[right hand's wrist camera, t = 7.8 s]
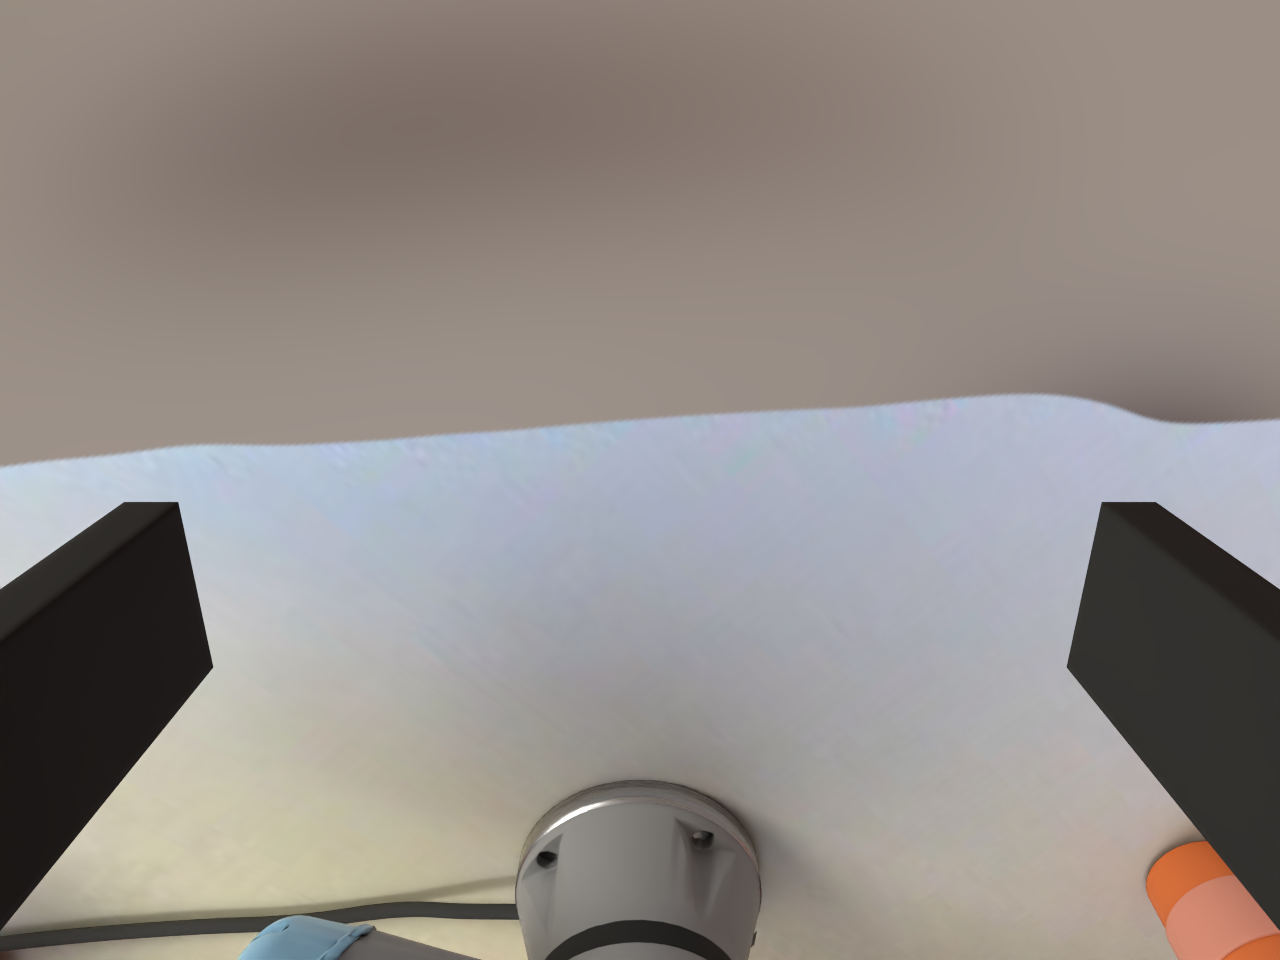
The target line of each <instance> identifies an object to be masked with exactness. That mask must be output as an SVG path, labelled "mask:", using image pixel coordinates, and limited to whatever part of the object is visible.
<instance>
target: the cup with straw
mask: <svg viewBox="0 0 1280 960" xmlns="http://www.w3.org/2000/svg"><path fill="white" fill-rule="evenodd" d="M1146 890H1147V894H1148V897H1149V899H1150V901H1151V903H1152V905H1153V907H1154V909H1155V911H1156V912H1157V914H1158V916H1159V918H1160V920H1161V922H1162V924H1163V925H1164V927H1165V929H1166V935H1167V939H1168V941H1169V943H1170V945H1171V947H1172V949H1173V951H1174V953H1175V954H1176V956H1177V958H1178V960H1280V931H1279V929H1278V928H1277V927H1276V926H1275V924H1274V923H1273V922H1272V921H1271V919H1270V918H1269V917H1268V916H1267V915H1266V913H1265V912H1264V911H1263V910H1262V908H1261V907H1260V906H1259V905H1258V903H1257V902H1256V901H1255V900H1254V898H1253V897H1252V896H1251V895H1250V893H1249V892H1248V891H1247V890H1246V889H1245V887H1244V886H1243V885H1242V884H1241V882H1240V881H1239V880H1238V879H1237V877H1236V876H1235V875H1234V874H1233V872H1232V871H1231V870H1230V869H1229V867H1228V866H1227V865H1226V864H1225V863H1224V861H1223V860H1222V859H1221V858H1220V856H1219V855H1218V854H1217V853H1216V851H1215V850H1214V849H1213V848H1212V846H1211V845H1210V844H1209V843H1208V841H1198V842H1192V843H1188V844H1184V845H1182V846H1179V847H1177V848H1175V849H1173V850H1171V851H1169V852H1168V853H1166V854H1165V855H1163V856H1162V857H1161V858H1160V859H1159V860H1158V861H1157V862H1156V863H1155V864H1154V866H1153V867H1152V868H1151V870H1150V872H1149V874H1148V877H1147V882H1146Z"/></svg>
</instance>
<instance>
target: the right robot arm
mask: <svg viewBox="0 0 1280 960" xmlns="http://www.w3.org/2000/svg"><path fill="white" fill-rule="evenodd" d="M212 668H213V664H212V659H211V654H210V650H209V645H208V640H207V635H206V631H205V626H204V621H203V617H202V612H201V607H200V603H199V598H198V593H197V588H196V584H195V579H194V574H193V570H192V565H191V560H190V556H189V551H188V546H187V541H186V537H185V532H184V527H183V523H182V518H181V513H180V509H179V504H178V502H124V503H122V504H121V505H119V506H118V507H117V508H115V509H114V510H112V511H111V512H110V513H108V514H107V515H105V516H104V517H102V518H101V519H100V520H98V521H97V522H95V523H94V524H93V525H91V526H90V527H88V528H87V529H85V530H84V531H83V532H81V533H80V534H78V535H77V536H75V537H74V538H73V539H71V540H70V541H68V542H67V543H66V544H64V545H63V546H61V547H60V548H58V549H57V550H56V551H54V552H53V553H51V554H50V555H48V556H47V557H46V558H44V559H43V560H41V561H40V562H39V563H37V564H36V565H34V566H33V567H31V568H30V569H29V570H27V571H26V572H24V573H23V574H21V575H20V576H19V577H17V578H16V579H14V580H13V581H12V582H10V583H9V584H7V585H6V586H4V587H3V588H2V589H0V931H1V929H2V928H3V927H4V926H5V924H6V923H7V922H8V921H9V919H10V918H11V917H12V916H13V915H14V913H15V912H16V911H17V910H18V908H19V907H20V906H21V905H22V903H23V902H24V901H25V900H26V898H27V897H28V896H29V895H30V893H31V892H32V891H33V890H34V889H35V887H36V886H37V885H38V884H39V882H40V881H41V880H42V879H43V877H44V876H45V875H46V874H47V872H48V871H49V870H50V869H51V867H52V866H53V865H54V864H55V863H56V861H57V860H58V859H59V858H60V856H61V855H62V854H63V853H64V851H65V850H66V849H67V848H68V846H69V845H70V844H71V843H72V842H73V840H74V839H75V838H76V837H77V835H78V834H79V833H80V832H81V830H82V829H83V828H84V827H85V825H86V824H87V823H88V822H89V820H90V819H91V818H92V817H93V816H94V814H95V813H96V812H97V811H98V809H99V808H100V807H101V806H102V804H103V803H104V802H105V801H106V799H107V798H108V797H109V796H110V794H111V793H112V792H113V791H114V790H115V788H116V787H117V786H118V785H119V783H120V782H121V781H122V780H123V778H124V777H125V776H126V775H127V773H128V772H129V771H130V770H131V768H132V767H133V766H134V765H135V764H136V762H137V761H138V760H139V759H140V757H141V756H142V755H143V754H144V752H145V751H146V750H147V749H148V747H149V746H150V745H151V744H152V742H153V741H154V740H155V739H156V738H157V736H158V735H159V734H160V733H161V731H162V730H163V729H164V728H165V726H166V725H167V724H168V723H169V721H170V720H171V719H172V718H173V716H174V715H175V714H176V713H177V712H178V710H179V709H180V708H181V707H182V705H183V704H184V703H185V702H186V700H187V699H188V698H189V697H190V695H191V694H192V693H193V692H194V690H195V689H196V688H197V687H198V686H199V684H200V683H201V682H202V681H203V679H204V678H205V677H206V676H207V674H208V673H209V672H210V671H211V669H212ZM1067 668H1068V669H1069V671H1070V672H1071V673H1072V674H1073V676H1074V677H1075V678H1076V679H1077V681H1078V682H1079V683H1080V684H1081V686H1082V687H1083V688H1084V689H1085V690H1086V692H1087V693H1088V694H1089V695H1090V697H1091V698H1092V699H1093V700H1094V702H1095V703H1096V704H1097V705H1098V707H1099V708H1100V709H1101V710H1102V712H1103V713H1104V714H1105V715H1106V716H1107V718H1108V719H1109V720H1110V721H1111V723H1112V724H1113V725H1114V726H1115V728H1116V729H1117V730H1118V731H1119V733H1120V734H1121V735H1122V736H1123V738H1124V739H1125V740H1126V741H1127V742H1128V744H1129V745H1130V746H1131V747H1132V749H1133V750H1134V751H1135V752H1136V754H1137V755H1138V756H1139V757H1140V759H1141V760H1142V761H1143V762H1144V764H1145V765H1146V766H1147V767H1148V768H1149V770H1150V771H1151V772H1152V773H1153V775H1154V776H1155V777H1156V778H1157V780H1158V781H1159V782H1160V783H1161V785H1162V786H1163V787H1164V788H1165V790H1166V791H1167V792H1168V793H1169V794H1170V796H1171V797H1172V798H1173V799H1174V801H1175V802H1176V803H1177V804H1178V806H1179V807H1180V808H1181V809H1182V811H1183V812H1184V813H1185V814H1186V816H1187V817H1188V818H1189V819H1190V820H1191V822H1192V823H1193V824H1194V825H1195V827H1196V828H1197V829H1198V830H1199V832H1200V833H1201V834H1202V835H1203V837H1204V838H1205V839H1206V840H1207V841H1208V843H1209V844H1210V845H1211V846H1212V848H1213V849H1214V850H1215V851H1216V853H1217V854H1218V855H1219V856H1220V858H1221V859H1222V860H1223V861H1224V863H1225V864H1226V865H1227V866H1228V867H1229V869H1230V870H1231V871H1232V872H1233V874H1234V875H1235V876H1236V877H1237V879H1238V880H1239V881H1240V882H1241V884H1242V885H1243V886H1244V887H1245V889H1246V890H1247V891H1248V892H1249V893H1250V895H1251V896H1252V897H1253V898H1254V900H1255V901H1256V902H1257V903H1258V905H1259V906H1260V907H1261V908H1262V910H1263V911H1264V912H1265V913H1266V915H1267V916H1268V917H1269V918H1270V919H1271V921H1272V922H1273V923H1274V924H1275V926H1276V927H1277V928H1278V929H1279V931H1280V589H1278V588H1277V587H1276V586H1274V585H1273V584H1271V583H1270V582H1268V581H1267V580H1266V579H1264V578H1263V577H1261V576H1260V575H1259V574H1257V573H1256V572H1254V571H1253V570H1251V569H1250V568H1249V567H1247V566H1246V565H1244V564H1243V563H1241V562H1240V561H1239V560H1237V559H1236V558H1234V557H1233V556H1232V555H1230V554H1229V553H1227V552H1226V551H1224V550H1223V549H1222V548H1220V547H1219V546H1217V545H1216V544H1214V543H1213V542H1212V541H1210V540H1209V539H1207V538H1206V537H1205V536H1203V535H1202V534H1200V533H1199V532H1197V531H1196V530H1195V529H1193V528H1192V527H1190V526H1189V525H1187V524H1186V523H1185V522H1183V521H1182V520H1180V519H1179V518H1178V517H1176V516H1175V515H1173V514H1172V513H1170V512H1169V511H1168V510H1166V509H1165V508H1163V507H1162V506H1161V505H1159V504H1158V503H1156V502H1102V504H1101V509H1100V513H1099V518H1098V523H1097V527H1096V532H1095V537H1094V541H1093V546H1092V551H1091V556H1090V560H1089V565H1088V570H1087V574H1086V579H1085V584H1084V588H1083V593H1082V598H1081V603H1080V607H1079V612H1078V617H1077V621H1076V626H1075V631H1074V635H1073V640H1072V645H1071V650H1070V654H1069V659H1068V664H1067ZM515 901H516V904H461V903H441V902H395V903H384V904H374V905H367V906H359V907H352V908H346V909H339V910H332V911H325V912H317V913H307V914H296V915H283V916H266V917H242V918H216V919H196V920H180V921H164V922H149V923H135V924H121V925H109V926H97V927H86V928H75V929H65V930H55V931H45V932H36V933H27V934H18V935H10V936H2V937H0V952H1V951H9V950H18V949H26V948H35V947H45V946H55V945H65V944H75V943H86V942H98V941H109V940H122V939H135V938H150V937H165V936H181V935H198V934H219V933H246V932H260V933H259V934H258V935H257V936H256V937H255V938H254V939H253V940H252V942H251V943H250V944H249V945H248V946H247V947H246V949H245V950H244V951H243V952H242V953H241V955H240V956H239V957H238V959H237V960H480V959H476V958H473V957H469V956H465V955H461V954H458V953H454V952H450V951H446V950H443V949H439V948H436V947H432V946H429V945H425V944H422V943H418V942H415V941H411V940H408V939H405V938H401V937H398V936H394V935H391V934H387V933H384V932H380V931H377V930H376V928H375V927H374V926H372V925H370V924H364V925H360V926H354V925H349V924H347V923H354V922H361V921H368V920H376V919H386V918H399V917H435V918H451V919H505V920H520V924H521V929H522V933H523V938H524V942H525V947H526V951H527V956H528V960H748V957H749V953H750V948H751V947H752V946H753V945H754V942H755V937H756V933H757V931H756V932H755V933H754V931H755V926H756V922H757V918H758V914H759V911H760V905H761V883H760V877H759V870H758V864H757V859H756V854H755V851H754V848H753V845H752V843H751V841H750V839H749V837H748V835H747V833H746V832H745V830H744V829H743V827H742V826H741V825H740V823H739V822H738V821H737V820H736V819H735V818H734V817H733V816H732V815H731V814H730V813H729V812H728V811H727V810H726V809H724V808H723V807H722V806H721V805H719V804H718V803H716V802H715V801H713V800H711V799H710V798H708V797H706V796H704V795H702V794H700V793H698V792H695V791H693V790H690V789H687V788H684V787H681V786H678V785H673V784H669V783H664V782H657V781H644V780H635V781H620V782H613V783H607V784H603V785H599V786H595V787H592V788H589V789H586V790H584V791H581V792H579V793H577V794H575V795H572V796H570V797H569V798H567V799H565V800H563V801H562V802H560V803H559V804H557V805H556V806H555V807H553V808H552V809H551V810H550V811H549V812H547V813H546V814H545V815H544V816H543V817H542V818H541V819H540V820H539V821H538V823H537V824H536V825H535V827H534V828H533V829H532V831H531V832H530V834H529V836H528V837H527V839H526V842H525V844H524V846H523V849H522V853H521V856H520V862H519V868H518V874H517V881H516V887H515Z"/></svg>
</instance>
